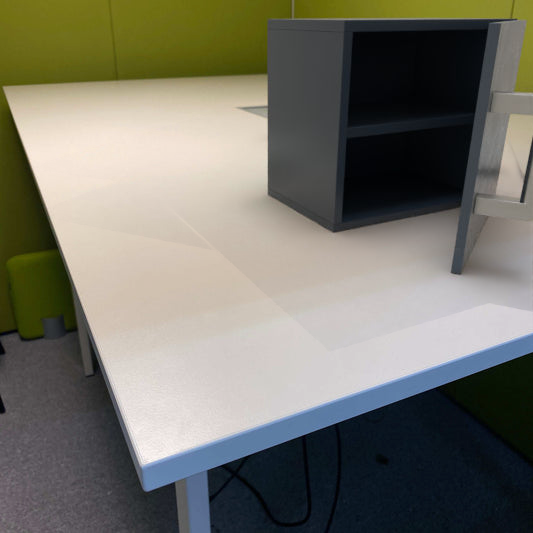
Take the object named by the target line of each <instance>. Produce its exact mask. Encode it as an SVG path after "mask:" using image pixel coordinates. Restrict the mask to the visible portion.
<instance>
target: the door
mask: <svg viewBox="0 0 533 533" xmlns="http://www.w3.org/2000/svg"><path fill="white" fill-rule="evenodd" d="M527 22H528V19H517V20H514V21H504V22H494V23H489V28H488V34H487V41H486V47H485V54H484V60H483V67H482V73H481V80H480V86H479V93H478V99H477V106H476V112H475V119H474V125H473V132H472V138H471V145H470V151H469V158H468V164H467V171H466V177H465V184H464V190H463V197H462V203H461V208H460V210H459V215H458V216H459V217H458V222H457V231H456V237H455V243H454V250H453V254H452V255H453V256H452V262H451V268H450V269H451V270H450V273H452V274H457V275H461V274H462V272H463V270H464V268H465V265H466V264H467V262H468V259H469V257H470V255H471V253H472V250H473V248H474V247H475V244H476V242H477V241H478V238H479V236H480V235H481V232H482V230H483V228H484V226H485V223H486V222H487V219H488V217H492V218H493V217H494V218H499V219H506V220H513V221H520V222H528V223H529V222H531V223H532V222H533V136H532V137H531V143H530V148H529V153H528V157H527V162H526V168H525V173H524V179H523V182H522V186H521V187H522V188H521V192H520V197H514V196H507V195H499V194H497V189H498V183H499V179H500V172H501V167H502V160H503V155H504V150H505V146H506V145H505V144H506V138H507V134H508V128H509V122H510V116H511V115H516V116H517V115H519V116H520V115H521V116H533V92H525V91H523V92H522V91H515V89H516V83H517V77H518V71H519V68H520V67H519V66H520V60H521V55H522V50H523V46H524V45H523V43H524V38H525V33H526V29H527V28H526V27H527Z"/></svg>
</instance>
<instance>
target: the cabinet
mask: <svg viewBox="0 0 533 533" xmlns="http://www.w3.org/2000/svg"><path fill="white" fill-rule="evenodd" d="M514 20H518V18H500V17H499V18H496V17H495V18H491V17H490V18H487V17H485V18H483V17H482V18H481V17H479V18H478V17H477V18H476V17H475V18H474V17H384V18H383V17H369V18H367V17H362V18H361V17H359V18H356V17H351V18H341V17H339V18H268V19H267V196H269V197H271V198H272V199H273V200H276V201H277V202H279V203H281V204H282V205H285V207H288V208H289V209H291V210H293V211H295V212H297V213H298V214H300V215H302V216H303V217H305V218H307V219H309V220H310V221H311V222H313V223H315V224H317V225H318V226H321V227H322V228H324V229H326V230H327V231H329V232H331V233H333V234H336V233H339V232H344V231H350V230H356V229H360V228H365V227H370V226H375V225H380V224H386V223H390V222H394V221H400V220H405V219H409V218H415V217H420V216H425V215H430V214H434V213H435V214H436V213H440V212H446V211H450V210H455V209H461V203H462V197H463V190H464V184H465V177H466V171H467V164H468V158H469V151H470V145H471V138H472V132H473V125H474V119H475V112H476V106H477V99H478V93H479V86H480V80H481V73H482V67H483V60H484V54H485V47H486V41H487V34H488V28H489V23H494V22H504V21H514Z"/></svg>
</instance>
